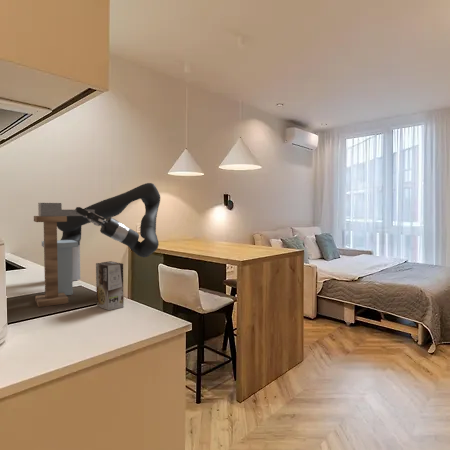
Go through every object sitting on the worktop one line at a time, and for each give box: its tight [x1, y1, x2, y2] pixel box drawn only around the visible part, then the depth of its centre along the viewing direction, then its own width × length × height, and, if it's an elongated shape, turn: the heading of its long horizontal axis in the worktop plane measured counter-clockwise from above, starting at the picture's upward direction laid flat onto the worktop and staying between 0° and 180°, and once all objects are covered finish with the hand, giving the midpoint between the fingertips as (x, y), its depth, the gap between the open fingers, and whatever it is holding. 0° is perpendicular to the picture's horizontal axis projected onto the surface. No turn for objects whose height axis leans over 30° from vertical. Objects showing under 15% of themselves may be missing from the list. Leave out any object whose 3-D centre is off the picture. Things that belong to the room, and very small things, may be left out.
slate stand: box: [41, 239, 78, 296], centre depth 145 cm, size 12×12×22 cm
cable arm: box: [37, 202, 95, 216], centre depth 135 cm, size 7×20×5 cm, turn 124°
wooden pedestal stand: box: [33, 215, 69, 308], centre depth 132 cm, size 10×10×33 cm
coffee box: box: [95, 260, 125, 311], centre depth 127 cm, size 9×6×16 cm
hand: (76, 209), depth 137 cm, fingers closed on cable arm, 3 cm apart
